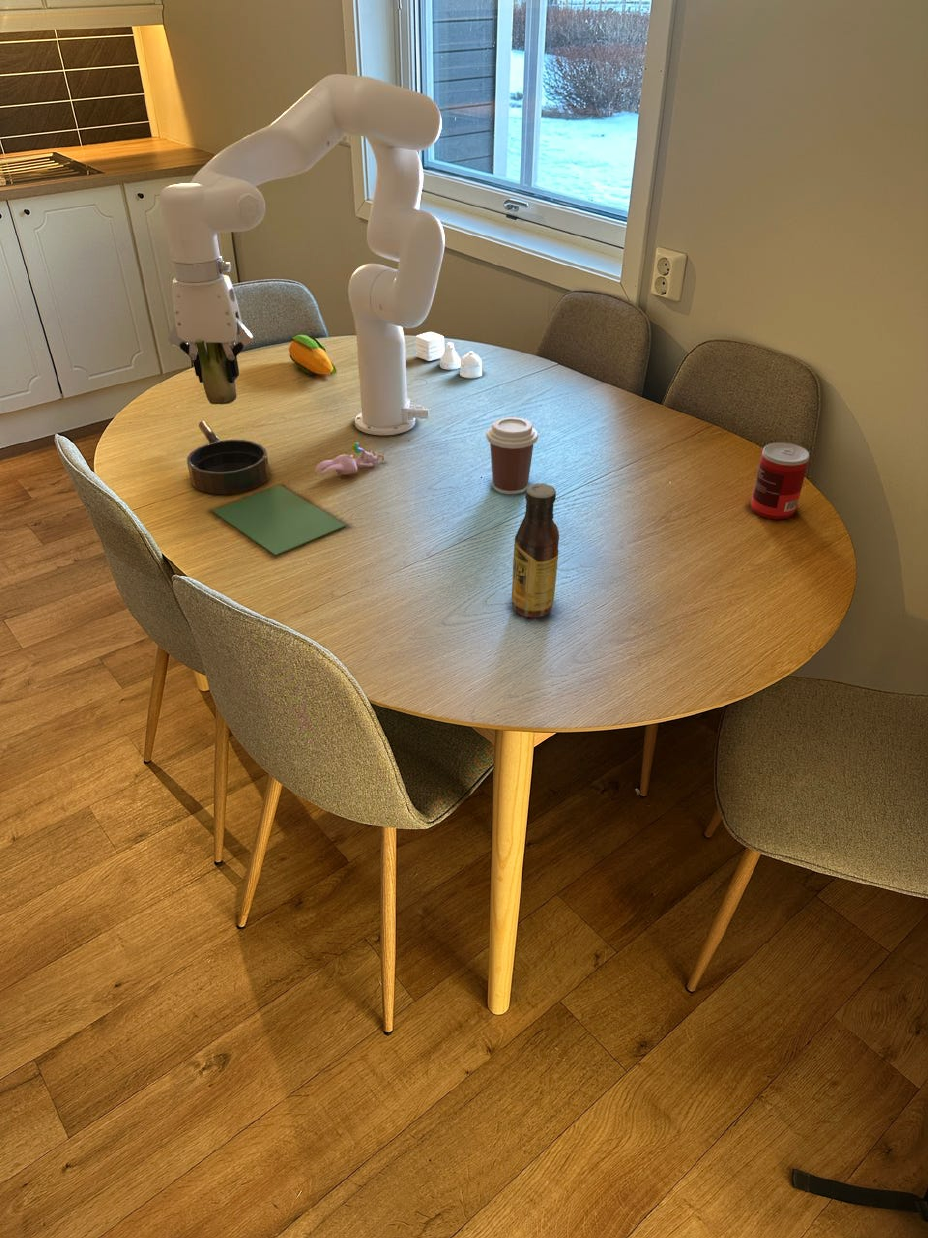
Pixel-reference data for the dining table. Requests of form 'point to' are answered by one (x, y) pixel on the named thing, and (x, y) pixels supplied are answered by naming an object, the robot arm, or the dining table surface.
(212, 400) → the fennel bulb
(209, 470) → the pan
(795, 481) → the canned food
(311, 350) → the corn
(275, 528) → the cloth
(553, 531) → the sauce bottle
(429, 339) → the container set
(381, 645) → the dining table surface
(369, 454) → the rabbit figure
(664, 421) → the dining table surface
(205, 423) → the pan handle
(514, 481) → the coffee cup
